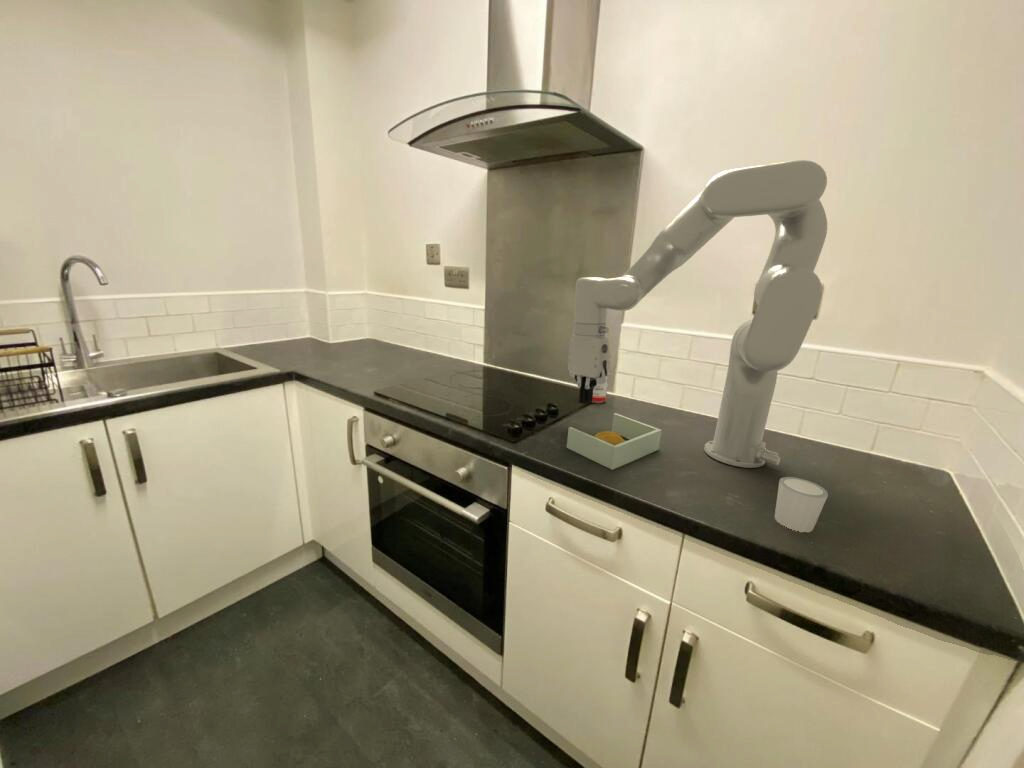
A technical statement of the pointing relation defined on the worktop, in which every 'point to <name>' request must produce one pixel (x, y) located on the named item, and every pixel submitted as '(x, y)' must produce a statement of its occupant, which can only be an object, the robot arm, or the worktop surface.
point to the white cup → (799, 503)
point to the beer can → (600, 391)
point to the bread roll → (610, 437)
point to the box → (610, 456)
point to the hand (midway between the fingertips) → (585, 402)
